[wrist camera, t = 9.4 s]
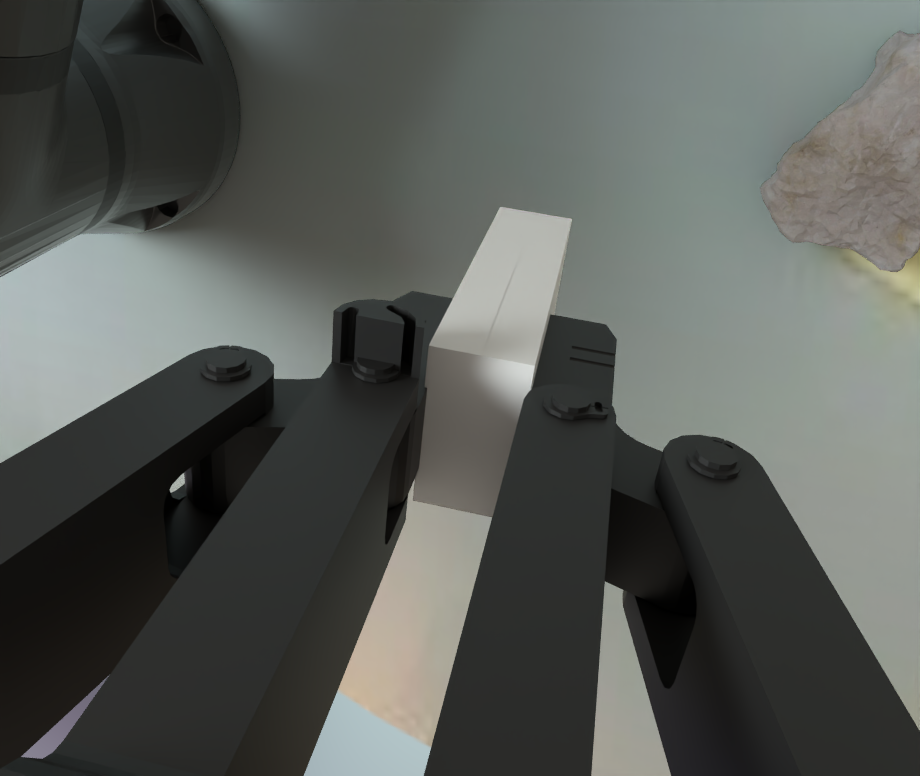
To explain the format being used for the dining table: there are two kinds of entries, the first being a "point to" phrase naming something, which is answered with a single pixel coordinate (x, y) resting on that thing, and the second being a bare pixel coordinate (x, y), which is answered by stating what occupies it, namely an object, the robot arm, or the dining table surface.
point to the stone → (859, 167)
